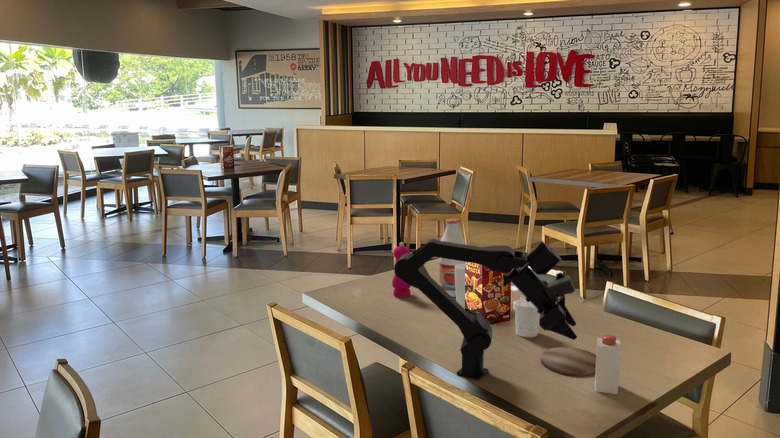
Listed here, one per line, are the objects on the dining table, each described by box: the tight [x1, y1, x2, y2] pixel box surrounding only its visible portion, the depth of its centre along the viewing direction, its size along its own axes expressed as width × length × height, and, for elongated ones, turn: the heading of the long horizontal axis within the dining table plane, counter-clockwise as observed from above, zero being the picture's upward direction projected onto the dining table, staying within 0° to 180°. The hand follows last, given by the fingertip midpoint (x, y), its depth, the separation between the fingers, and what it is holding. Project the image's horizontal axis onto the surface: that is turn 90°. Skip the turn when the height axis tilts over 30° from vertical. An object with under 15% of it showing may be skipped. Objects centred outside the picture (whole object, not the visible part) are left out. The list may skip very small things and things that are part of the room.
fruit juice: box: [438, 217, 466, 298], centre depth 228 cm, size 9×9×28 cm
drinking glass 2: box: [455, 263, 466, 309], centre depth 214 cm, size 7×7×15 cm
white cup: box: [514, 299, 541, 338], centre depth 191 cm, size 8×8×10 cm
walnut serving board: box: [540, 346, 597, 377], centre depth 170 cm, size 16×16×1 cm
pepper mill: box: [391, 241, 412, 298], centre depth 228 cm, size 7×7×20 cm
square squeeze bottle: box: [594, 334, 622, 395], centre depth 154 cm, size 5×5×14 cm
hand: (575, 331), depth 156 cm, fingers open, 9 cm apart
